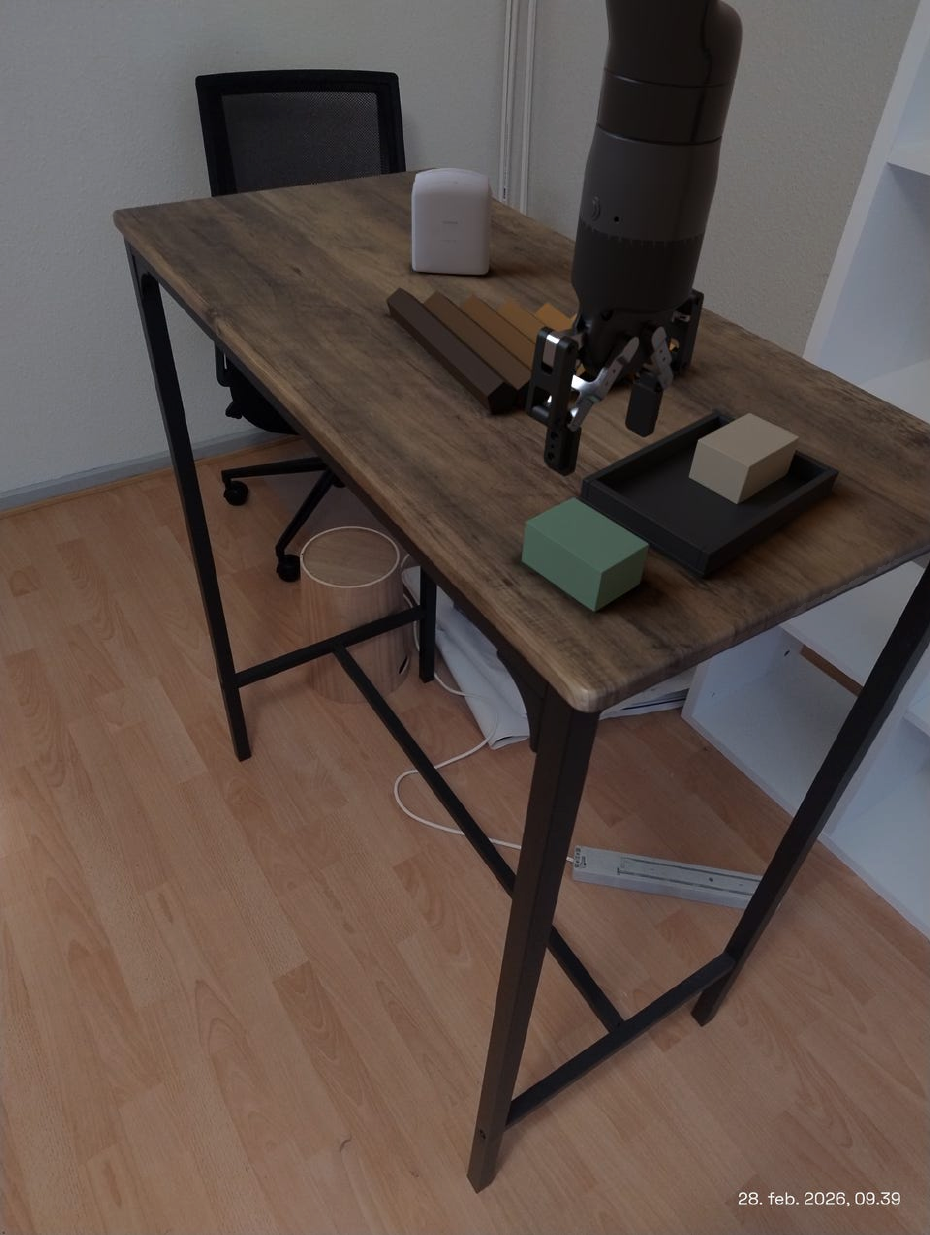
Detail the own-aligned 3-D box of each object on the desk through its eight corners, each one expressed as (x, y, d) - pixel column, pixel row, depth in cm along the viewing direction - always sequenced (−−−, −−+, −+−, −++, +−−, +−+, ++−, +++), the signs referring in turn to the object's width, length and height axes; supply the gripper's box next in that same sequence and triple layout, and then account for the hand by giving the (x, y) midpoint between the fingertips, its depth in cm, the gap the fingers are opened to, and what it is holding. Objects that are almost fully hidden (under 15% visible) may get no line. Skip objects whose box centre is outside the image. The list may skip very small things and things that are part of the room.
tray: (830, 493, 80) (839, 470, 78) (702, 579, 70) (709, 554, 68) (710, 432, 87) (716, 410, 86) (578, 501, 77) (582, 478, 76)
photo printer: (409, 274, 114) (410, 172, 105) (412, 261, 117) (413, 161, 109) (488, 279, 114) (494, 177, 105) (488, 266, 117) (495, 167, 109)
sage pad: (567, 535, 73) (573, 496, 71) (640, 583, 69) (649, 544, 67) (521, 561, 71) (525, 521, 68) (594, 612, 66) (602, 572, 64)
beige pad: (787, 474, 81) (800, 437, 79) (737, 504, 77) (749, 466, 75) (738, 449, 84) (749, 412, 82) (688, 477, 80) (697, 439, 77)
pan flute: (386, 317, 104) (485, 415, 88) (385, 289, 101) (487, 384, 85) (562, 288, 113) (681, 372, 97) (565, 261, 110) (688, 343, 95)
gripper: (612, 258, 46) (570, 510, 57) (765, 209, 53) (702, 440, 64) (513, 217, 50) (492, 460, 61) (668, 176, 57) (624, 400, 68)
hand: (600, 450), depth 62 cm, fingers open, 8 cm apart
